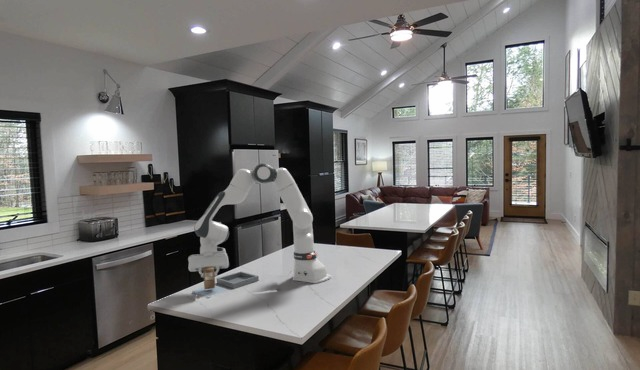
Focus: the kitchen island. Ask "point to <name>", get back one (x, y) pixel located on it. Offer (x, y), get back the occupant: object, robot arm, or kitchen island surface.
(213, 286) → the walnut block
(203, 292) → the light blue flat slab
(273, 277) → the kitchen island surface
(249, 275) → the parts bin
